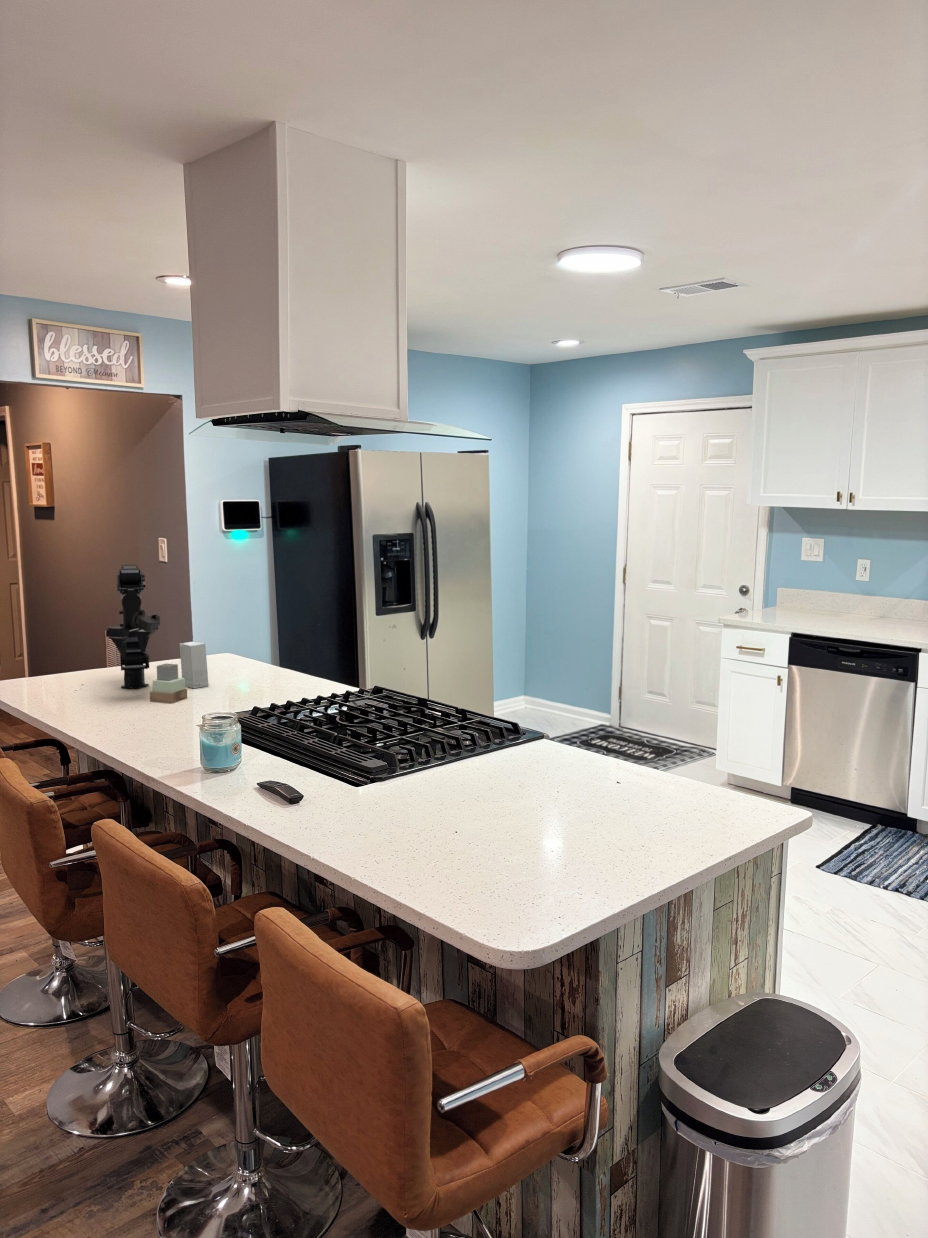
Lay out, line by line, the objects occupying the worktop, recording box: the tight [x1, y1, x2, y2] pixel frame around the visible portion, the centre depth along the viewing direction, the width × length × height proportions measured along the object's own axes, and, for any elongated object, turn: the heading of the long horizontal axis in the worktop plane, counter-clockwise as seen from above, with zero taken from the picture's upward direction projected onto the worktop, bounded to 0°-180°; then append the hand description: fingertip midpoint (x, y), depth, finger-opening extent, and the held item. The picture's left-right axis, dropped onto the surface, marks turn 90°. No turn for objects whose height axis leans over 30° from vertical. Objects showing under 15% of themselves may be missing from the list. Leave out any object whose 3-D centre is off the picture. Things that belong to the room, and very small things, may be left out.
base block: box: [149, 688, 188, 704], centre depth 285 cm, size 8×8×4 cm
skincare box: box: [179, 641, 210, 689], centre depth 304 cm, size 8×6×15 cm
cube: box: [156, 663, 179, 681], centre depth 284 cm, size 4×4×4 cm
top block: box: [152, 677, 187, 693], centre depth 284 cm, size 7×7×4 cm
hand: (133, 655), depth 290 cm, fingers open, 9 cm apart
